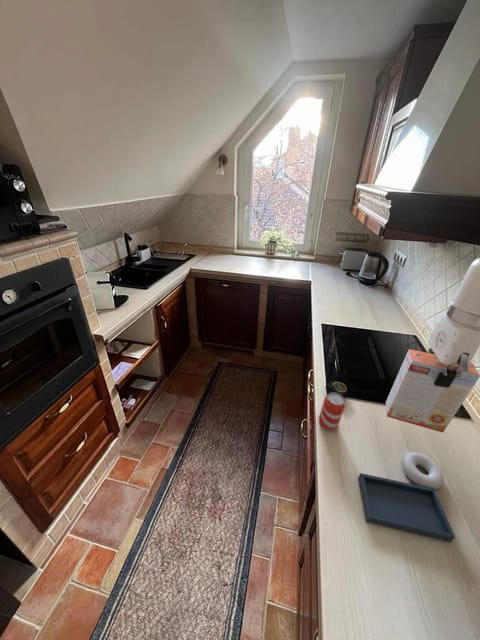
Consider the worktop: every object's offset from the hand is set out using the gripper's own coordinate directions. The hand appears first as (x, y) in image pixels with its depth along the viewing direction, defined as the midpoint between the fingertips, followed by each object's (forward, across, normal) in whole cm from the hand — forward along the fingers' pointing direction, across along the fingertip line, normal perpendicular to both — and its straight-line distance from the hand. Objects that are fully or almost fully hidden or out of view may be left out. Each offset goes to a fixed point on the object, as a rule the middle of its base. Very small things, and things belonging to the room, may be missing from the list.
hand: (435, 375), depth 65 cm
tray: (+29, +19, -4) cm, 35 cm away
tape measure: (+30, -17, -17) cm, 38 cm away
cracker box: (+16, 0, 0) cm, 16 cm away
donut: (+30, +8, +4) cm, 31 cm away
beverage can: (+30, -3, -21) cm, 36 cm away
